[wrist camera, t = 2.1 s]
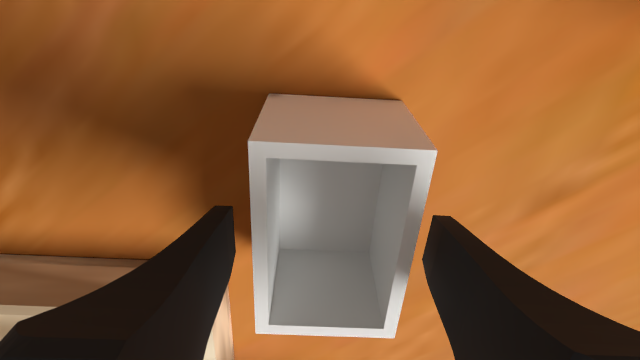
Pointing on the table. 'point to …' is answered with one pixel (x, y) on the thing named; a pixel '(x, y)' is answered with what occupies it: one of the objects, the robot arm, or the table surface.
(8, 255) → the shallow wooden tray
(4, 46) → the table surface
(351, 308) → the small crate
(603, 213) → the table surface
